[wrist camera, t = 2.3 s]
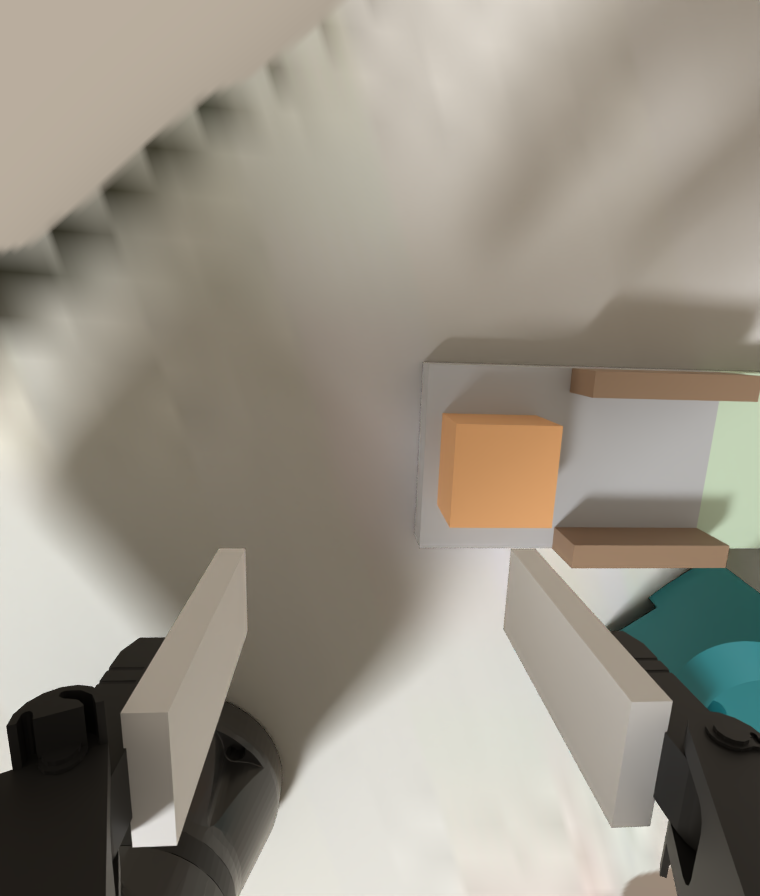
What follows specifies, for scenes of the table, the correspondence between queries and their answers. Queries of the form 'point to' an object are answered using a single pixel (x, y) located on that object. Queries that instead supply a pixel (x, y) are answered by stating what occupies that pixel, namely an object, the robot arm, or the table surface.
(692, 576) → the teal l-shaped bracket
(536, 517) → the block
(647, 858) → the table surface
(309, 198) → the table surface
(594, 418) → the deck
